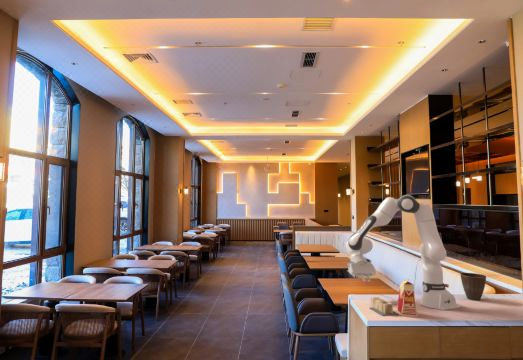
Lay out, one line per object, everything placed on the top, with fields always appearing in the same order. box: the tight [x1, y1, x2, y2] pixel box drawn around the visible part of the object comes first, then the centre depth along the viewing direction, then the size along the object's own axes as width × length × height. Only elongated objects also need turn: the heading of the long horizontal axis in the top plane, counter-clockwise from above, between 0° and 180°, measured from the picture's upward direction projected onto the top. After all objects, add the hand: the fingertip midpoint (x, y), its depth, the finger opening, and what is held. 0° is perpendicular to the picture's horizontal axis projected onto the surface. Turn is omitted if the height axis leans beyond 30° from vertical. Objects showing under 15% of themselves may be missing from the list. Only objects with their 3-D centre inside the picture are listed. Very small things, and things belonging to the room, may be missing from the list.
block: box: [370, 296, 394, 314], centre depth 203 cm, size 5×5×15 cm
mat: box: [369, 306, 399, 317], centre depth 201 cm, size 10×14×1 cm
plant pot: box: [459, 272, 487, 302], centre depth 231 cm, size 15×15×16 cm
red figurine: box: [396, 278, 419, 318], centre depth 198 cm, size 9×9×20 cm
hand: (366, 281), depth 223 cm, fingers open, 2 cm apart
